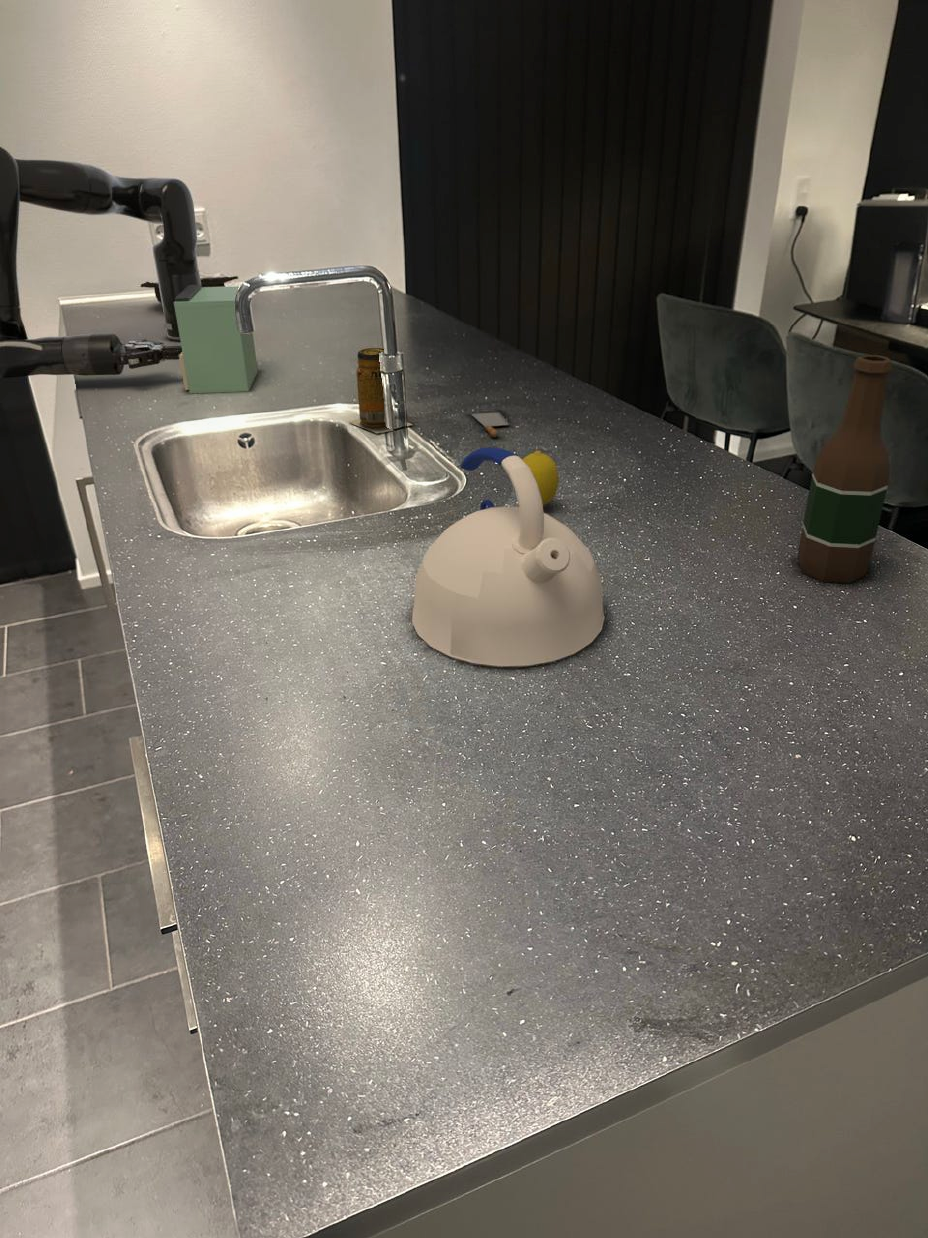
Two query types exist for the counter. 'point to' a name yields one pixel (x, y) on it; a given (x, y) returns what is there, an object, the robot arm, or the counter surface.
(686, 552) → the counter surface
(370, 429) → the condiment
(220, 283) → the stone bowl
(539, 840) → the counter surface
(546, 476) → the lemon
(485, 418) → the cleaver
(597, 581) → the kettle
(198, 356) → the green open box
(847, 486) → the beer bottle
